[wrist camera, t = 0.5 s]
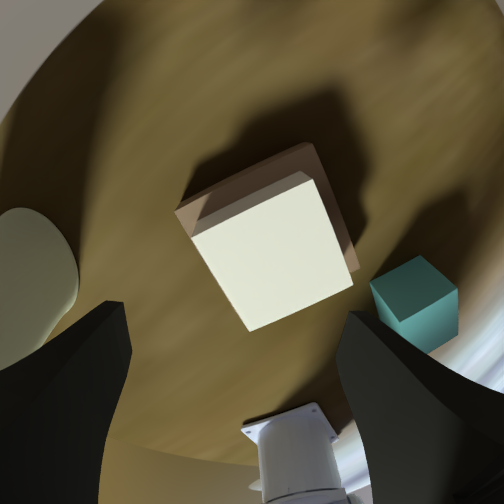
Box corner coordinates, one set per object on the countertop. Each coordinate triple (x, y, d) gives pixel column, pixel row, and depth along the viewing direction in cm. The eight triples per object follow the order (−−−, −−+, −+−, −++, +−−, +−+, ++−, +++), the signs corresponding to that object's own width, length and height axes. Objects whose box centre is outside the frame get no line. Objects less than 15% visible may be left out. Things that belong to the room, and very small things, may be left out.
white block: (338, 264, 17) (353, 284, 15) (247, 305, 18) (249, 331, 16) (300, 170, 15) (312, 179, 13) (196, 221, 16) (190, 238, 13)
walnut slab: (346, 251, 20) (360, 268, 18) (241, 300, 21) (242, 321, 19) (301, 140, 17) (312, 143, 14) (181, 200, 18) (174, 211, 15)
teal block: (426, 298, 21) (458, 334, 17) (380, 323, 22) (406, 365, 17) (419, 254, 20) (457, 288, 15) (368, 281, 20) (399, 322, 16)
